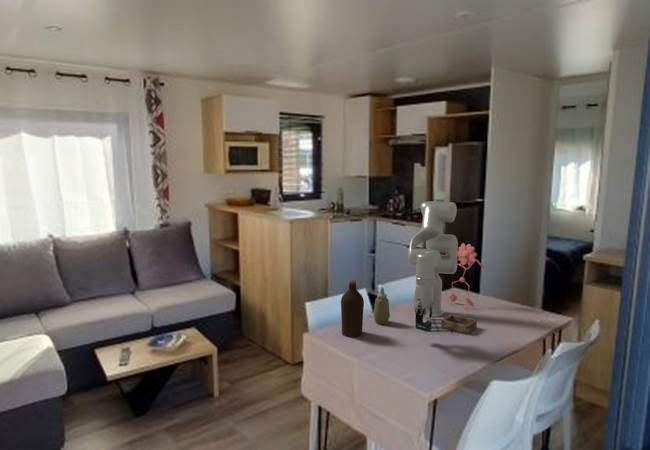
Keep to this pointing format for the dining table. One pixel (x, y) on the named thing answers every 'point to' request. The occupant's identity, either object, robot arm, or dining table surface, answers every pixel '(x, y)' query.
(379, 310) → the squeeze bottle
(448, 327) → the wooden tray
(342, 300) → the olive oil
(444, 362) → the dining table surface
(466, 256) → the figurine
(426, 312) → the watch
